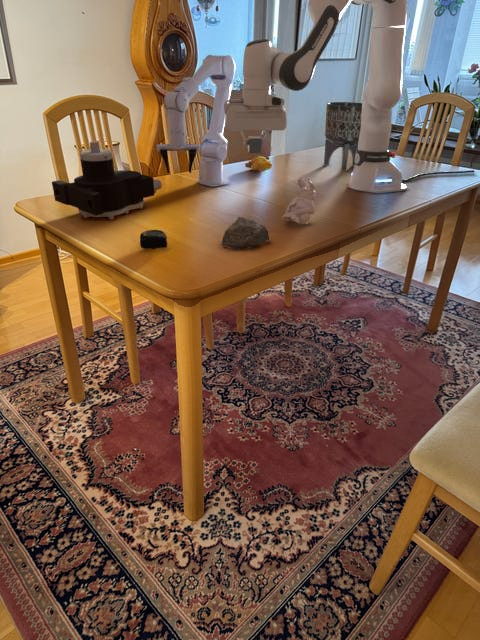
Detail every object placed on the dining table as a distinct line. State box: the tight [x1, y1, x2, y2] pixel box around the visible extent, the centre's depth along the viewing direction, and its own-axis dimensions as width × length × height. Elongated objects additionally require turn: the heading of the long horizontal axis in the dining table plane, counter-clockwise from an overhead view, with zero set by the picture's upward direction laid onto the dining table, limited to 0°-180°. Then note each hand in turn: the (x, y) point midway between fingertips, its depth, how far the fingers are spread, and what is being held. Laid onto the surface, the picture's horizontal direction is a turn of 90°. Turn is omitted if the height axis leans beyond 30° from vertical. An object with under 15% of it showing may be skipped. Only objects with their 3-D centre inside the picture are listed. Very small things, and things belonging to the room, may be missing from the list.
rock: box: [221, 216, 270, 250], centre depth 119 cm, size 13×9×6 cm, turn 131°
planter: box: [323, 101, 362, 172], centre depth 204 cm, size 20×20×26 cm
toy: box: [244, 155, 273, 172], centre depth 200 cm, size 11×6×15 cm
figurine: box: [281, 177, 316, 225], centre depth 135 cm, size 8×15×13 cm, turn 145°
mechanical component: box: [51, 141, 163, 220], centre depth 140 cm, size 22×21×30 cm
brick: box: [247, 135, 263, 154], centre depth 151 cm, size 4×4×5 cm
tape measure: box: [139, 229, 168, 250], centre depth 117 cm, size 7×7×4 cm
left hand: (179, 172), depth 161 cm, fingers open, 7 cm apart
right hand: (254, 144), depth 151 cm, fingers closed on brick, 4 cm apart
